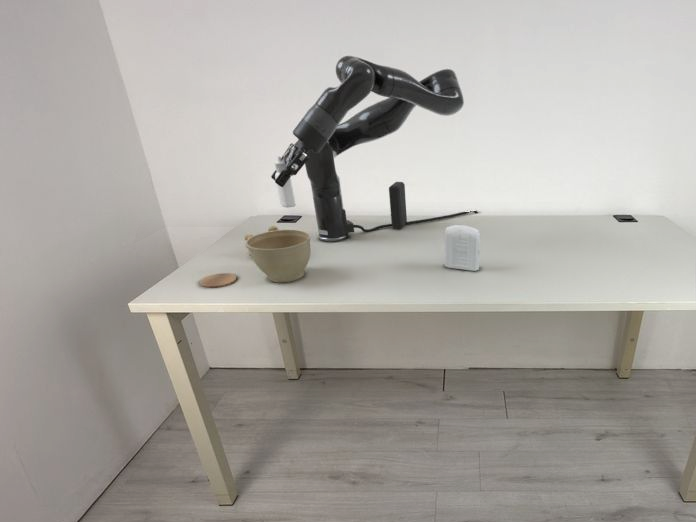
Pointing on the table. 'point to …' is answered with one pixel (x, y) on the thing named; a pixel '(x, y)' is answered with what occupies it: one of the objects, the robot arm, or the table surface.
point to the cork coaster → (218, 280)
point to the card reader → (397, 205)
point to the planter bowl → (281, 253)
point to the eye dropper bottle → (284, 187)
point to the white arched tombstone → (462, 247)
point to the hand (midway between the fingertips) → (276, 182)
